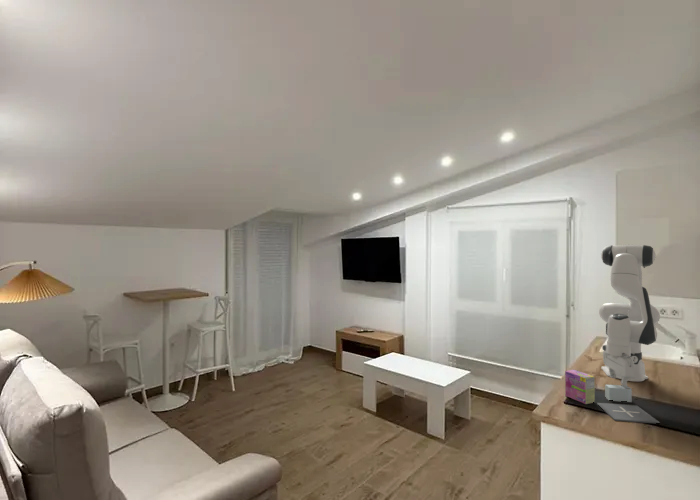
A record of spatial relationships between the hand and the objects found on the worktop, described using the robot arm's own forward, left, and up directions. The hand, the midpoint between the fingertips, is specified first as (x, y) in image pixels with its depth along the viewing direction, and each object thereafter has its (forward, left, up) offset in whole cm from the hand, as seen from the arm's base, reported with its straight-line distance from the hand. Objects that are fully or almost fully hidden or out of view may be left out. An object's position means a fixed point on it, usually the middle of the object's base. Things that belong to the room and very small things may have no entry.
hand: (618, 381), depth 173 cm
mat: (+14, -4, -9) cm, 17 cm away
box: (+2, -17, -9) cm, 19 cm away
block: (-1, 0, -9) cm, 9 cm away
